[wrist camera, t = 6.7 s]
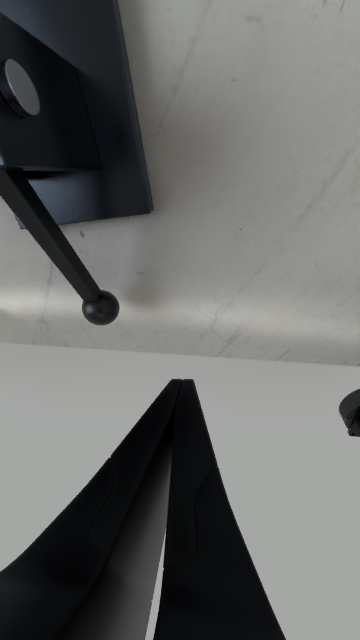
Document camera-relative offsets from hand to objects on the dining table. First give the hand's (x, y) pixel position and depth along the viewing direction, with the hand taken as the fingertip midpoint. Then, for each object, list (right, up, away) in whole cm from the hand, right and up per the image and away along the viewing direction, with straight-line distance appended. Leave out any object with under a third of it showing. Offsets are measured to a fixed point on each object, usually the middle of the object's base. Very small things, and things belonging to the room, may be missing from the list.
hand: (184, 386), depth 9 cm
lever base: (-7, +14, +5) cm, 17 cm away
